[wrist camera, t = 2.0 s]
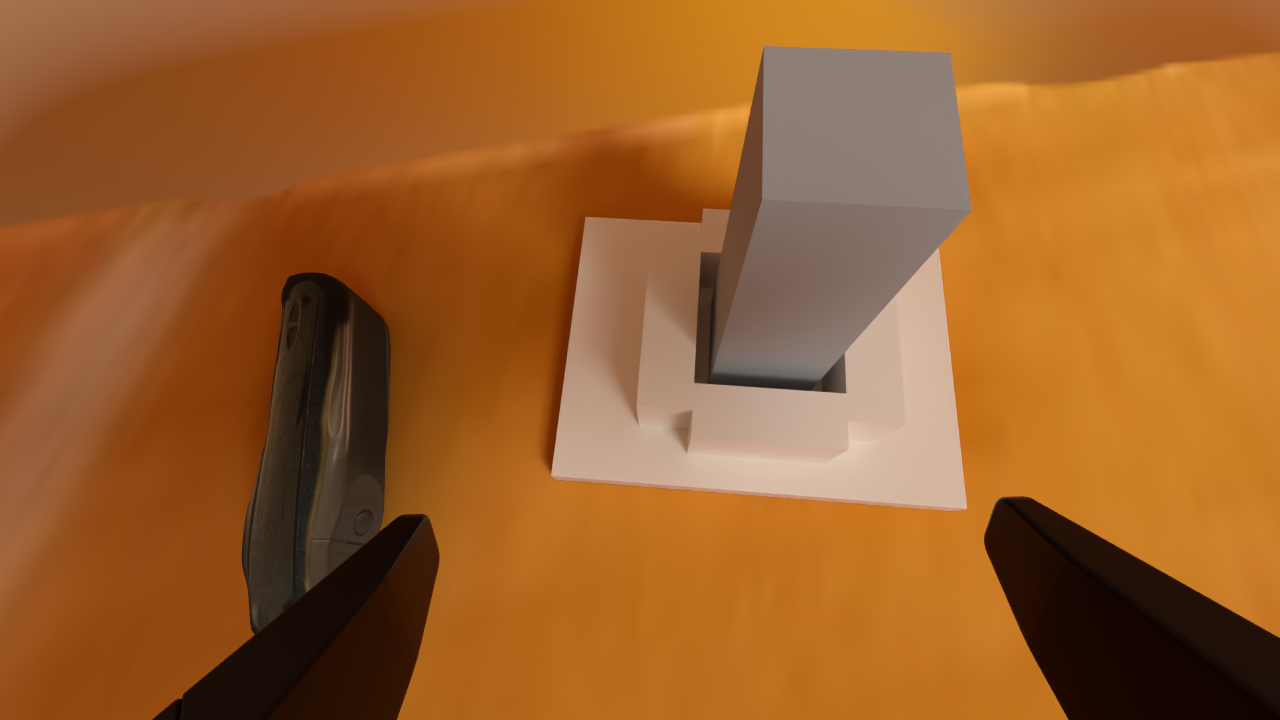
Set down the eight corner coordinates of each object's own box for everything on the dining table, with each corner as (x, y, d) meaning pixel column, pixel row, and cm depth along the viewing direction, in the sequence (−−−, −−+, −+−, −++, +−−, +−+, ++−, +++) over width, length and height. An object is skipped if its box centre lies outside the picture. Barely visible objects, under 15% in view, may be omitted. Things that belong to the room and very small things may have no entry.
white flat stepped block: (927, 247, 26) (972, 194, 23) (953, 511, 22) (1013, 501, 19) (588, 228, 27) (576, 175, 24) (555, 479, 23) (535, 463, 20)
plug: (804, 307, 24) (950, 53, 12) (805, 396, 23) (971, 209, 11) (711, 302, 25) (763, 46, 12) (707, 389, 23) (762, 199, 11)
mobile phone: (264, 268, 22) (214, 715, 16) (342, 257, 22) (318, 698, 16) (334, 323, 26) (313, 685, 21) (398, 313, 26) (394, 672, 21)
